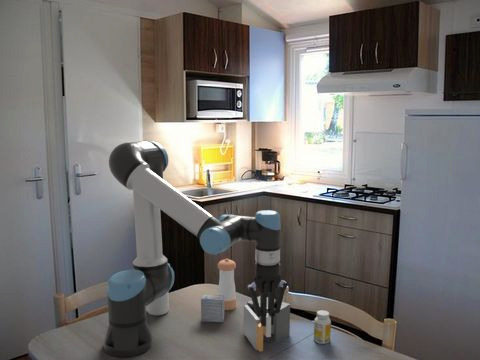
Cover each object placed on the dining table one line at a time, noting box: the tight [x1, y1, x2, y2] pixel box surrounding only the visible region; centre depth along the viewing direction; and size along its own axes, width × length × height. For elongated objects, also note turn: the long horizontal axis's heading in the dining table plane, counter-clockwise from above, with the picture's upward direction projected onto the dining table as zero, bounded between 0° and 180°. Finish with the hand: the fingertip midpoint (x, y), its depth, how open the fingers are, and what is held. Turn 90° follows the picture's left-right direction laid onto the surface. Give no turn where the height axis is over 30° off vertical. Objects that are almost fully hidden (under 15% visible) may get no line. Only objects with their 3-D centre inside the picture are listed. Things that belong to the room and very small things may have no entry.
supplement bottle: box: [313, 309, 332, 345], centre depth 155 cm, size 5×5×10 cm
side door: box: [243, 304, 264, 352], centre depth 152 cm, size 15×1×10 cm, turn 18°
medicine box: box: [200, 294, 225, 323], centre depth 170 cm, size 8×4×9 cm, turn 84°
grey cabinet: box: [246, 295, 291, 345], centre depth 160 cm, size 14×8×12 cm, turn 52°
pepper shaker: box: [217, 257, 237, 311], centre depth 181 cm, size 7×7×19 cm
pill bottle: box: [146, 291, 170, 316], centre depth 176 cm, size 8×8×15 cm
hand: (267, 335), depth 147 cm, fingers closed
